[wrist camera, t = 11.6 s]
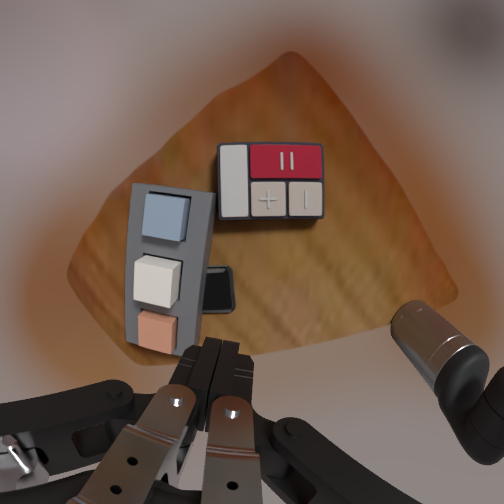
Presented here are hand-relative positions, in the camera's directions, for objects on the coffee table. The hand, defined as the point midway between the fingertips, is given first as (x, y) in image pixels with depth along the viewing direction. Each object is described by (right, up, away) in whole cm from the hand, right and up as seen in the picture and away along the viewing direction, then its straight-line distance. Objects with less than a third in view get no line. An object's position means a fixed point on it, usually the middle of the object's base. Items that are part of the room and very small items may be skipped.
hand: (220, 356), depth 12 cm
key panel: (-12, +2, +32) cm, 34 cm away
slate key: (-10, +10, +27) cm, 31 cm away
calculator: (+4, +15, +29) cm, 33 cm away
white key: (-12, +1, +27) cm, 30 cm away
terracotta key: (-13, -7, +31) cm, 34 cm away
